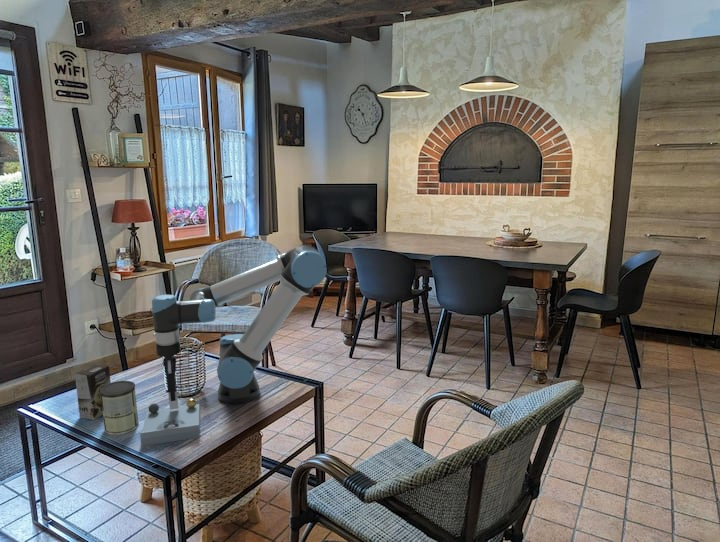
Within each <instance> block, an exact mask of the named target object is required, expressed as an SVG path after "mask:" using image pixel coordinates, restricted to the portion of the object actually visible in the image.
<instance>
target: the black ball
mask: <svg viewBox="0 0 720 542" xmlns="http://www.w3.org/2000/svg"><path fill="white" fill-rule="evenodd" d="M159 409H160V407H159V405H158V403H151V404H149V407H148V410H149V412H150V413H156V412H157V411H158V410H159Z"/></svg>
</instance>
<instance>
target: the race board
mask: <svg viewBox="0 0 720 542" xmlns="http://www.w3.org/2000/svg"><path fill="white" fill-rule="evenodd" d="M200 406H201V405H200V403H196V406H195V407H194V408H188V407H187V405H180V406H179V405H178V409H171V410H170V407H164V408H159V410H158V411H157V412H156V413H150V412H149V409H148V410H146V414H145V418H144V422H143V426H142V431H140V432H139V435H140V446H141V447H144V446H151V445H157V444H158V445H159V444H164V443H172V442H173V443H174V442H179V441H184V440H191V439H198V438H200V436H201V434H200V433H201V432H200V429H201V428H200V426H201V423H200V422H201V415H200V414H201V413H200V412H201V411H200V409H201V408H200ZM171 424H173V425H175V426H176V427H172V428H167V426H169V425H171Z"/></svg>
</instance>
